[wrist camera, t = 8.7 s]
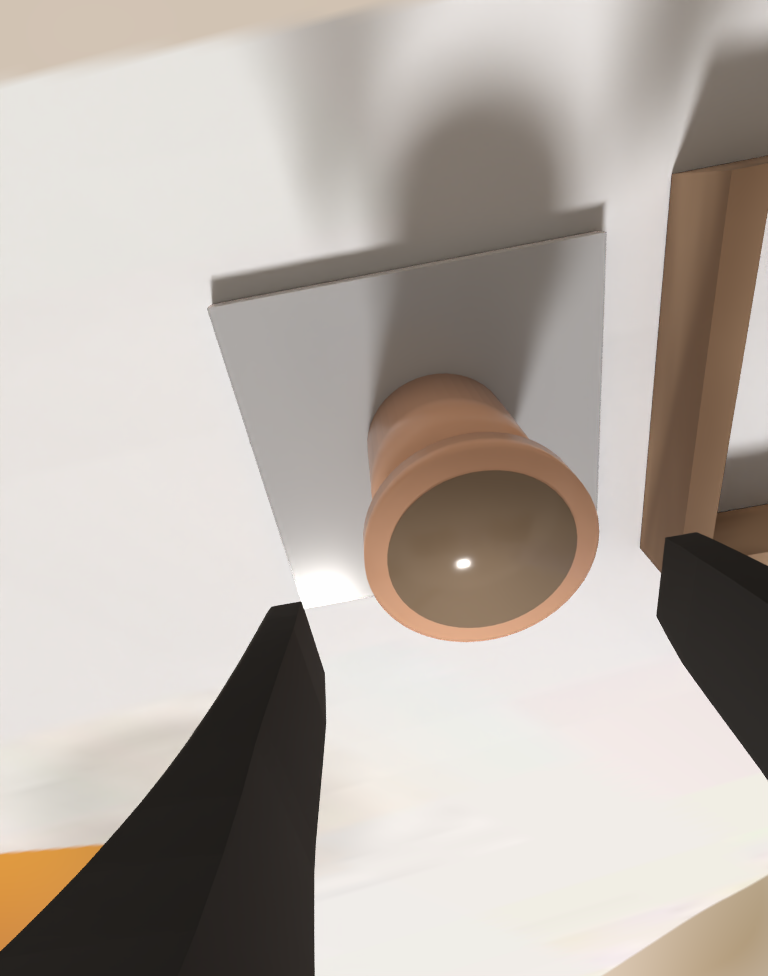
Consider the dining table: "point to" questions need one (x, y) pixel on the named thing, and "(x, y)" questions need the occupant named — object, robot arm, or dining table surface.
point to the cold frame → (704, 356)
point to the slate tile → (408, 379)
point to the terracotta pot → (469, 515)
